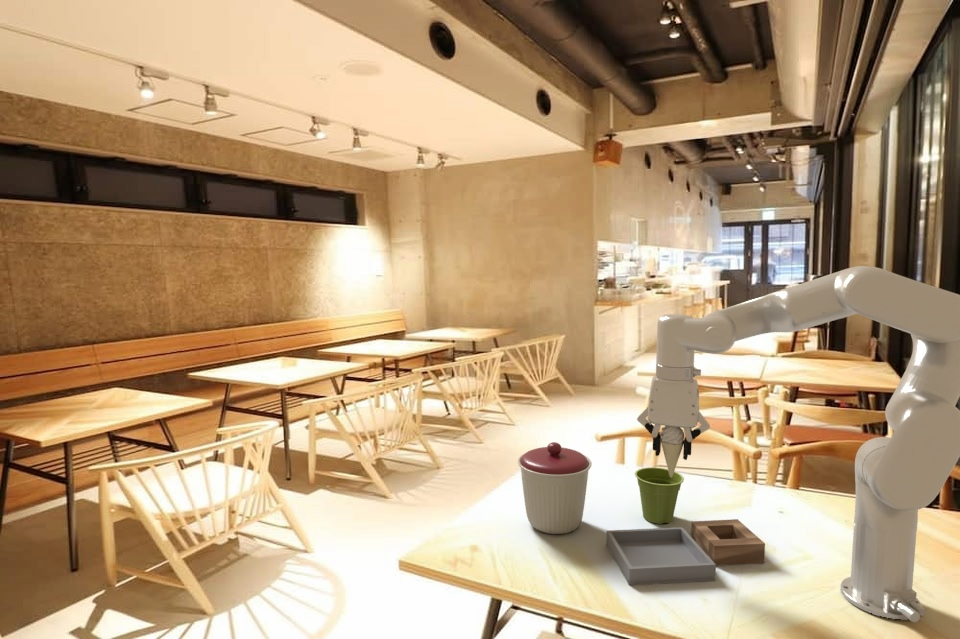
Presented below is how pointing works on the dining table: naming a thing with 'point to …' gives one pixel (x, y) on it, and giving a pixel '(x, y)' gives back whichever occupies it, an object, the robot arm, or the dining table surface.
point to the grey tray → (659, 556)
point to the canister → (554, 487)
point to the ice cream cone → (672, 446)
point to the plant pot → (658, 493)
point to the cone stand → (728, 542)
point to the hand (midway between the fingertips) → (671, 454)
